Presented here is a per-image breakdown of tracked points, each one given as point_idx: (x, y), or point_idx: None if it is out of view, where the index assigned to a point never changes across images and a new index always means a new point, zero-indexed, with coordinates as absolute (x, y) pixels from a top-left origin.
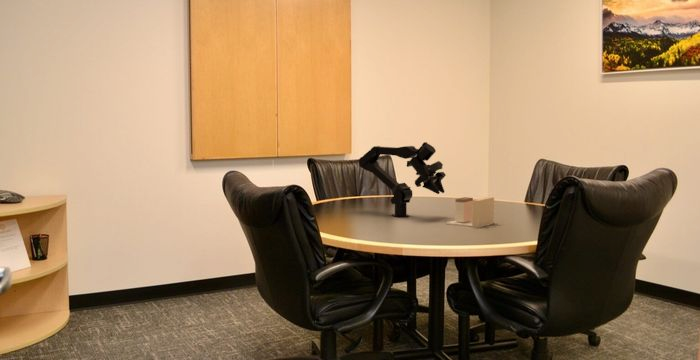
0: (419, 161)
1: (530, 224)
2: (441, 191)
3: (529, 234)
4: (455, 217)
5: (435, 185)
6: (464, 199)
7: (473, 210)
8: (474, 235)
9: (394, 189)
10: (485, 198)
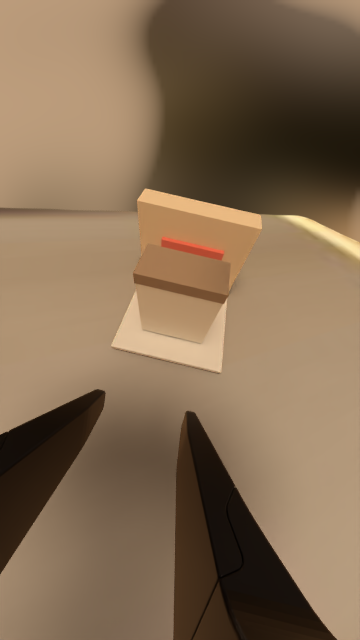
0: None
1: (129, 215)
2: (91, 426)
3: None
4: (204, 337)
5: (204, 497)
6: (221, 261)
7: (244, 259)
8: (305, 279)
9: None
10: (191, 204)
